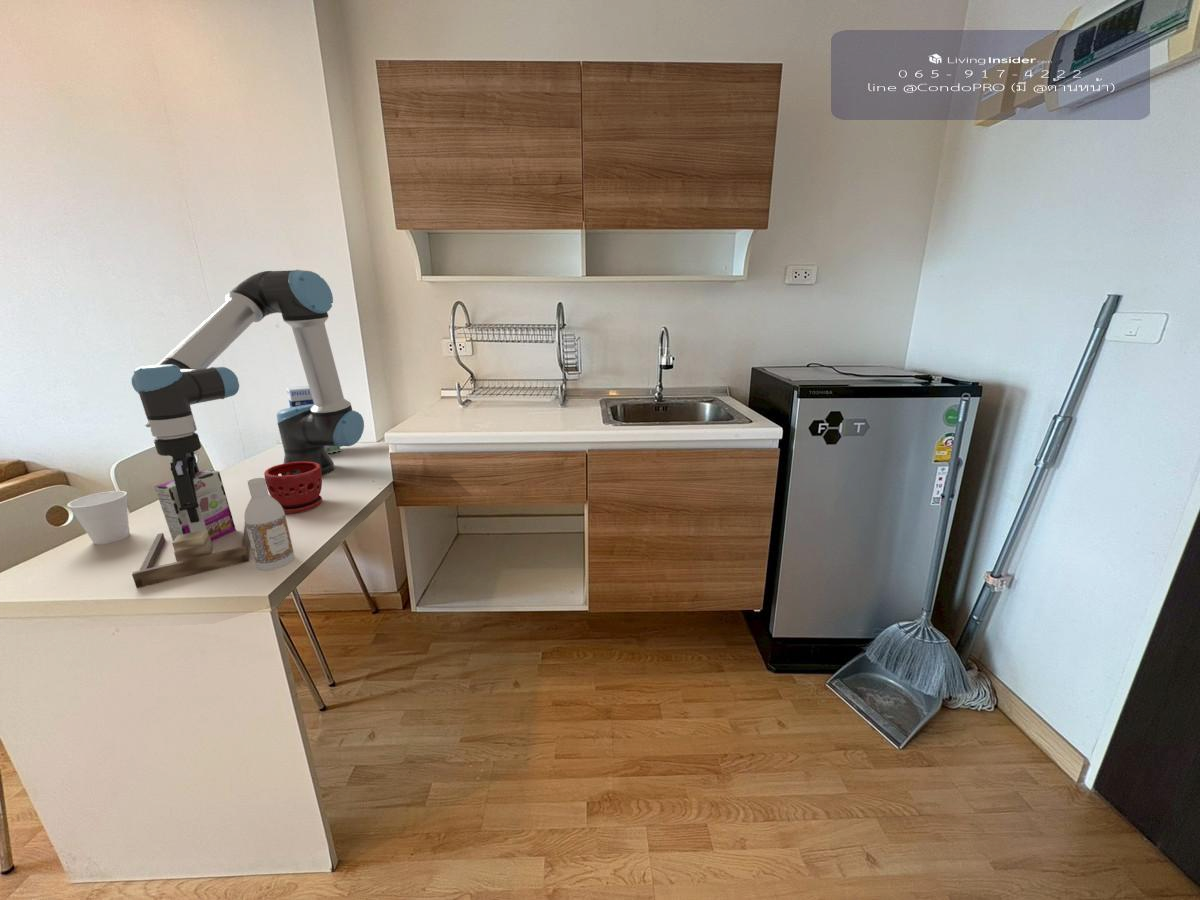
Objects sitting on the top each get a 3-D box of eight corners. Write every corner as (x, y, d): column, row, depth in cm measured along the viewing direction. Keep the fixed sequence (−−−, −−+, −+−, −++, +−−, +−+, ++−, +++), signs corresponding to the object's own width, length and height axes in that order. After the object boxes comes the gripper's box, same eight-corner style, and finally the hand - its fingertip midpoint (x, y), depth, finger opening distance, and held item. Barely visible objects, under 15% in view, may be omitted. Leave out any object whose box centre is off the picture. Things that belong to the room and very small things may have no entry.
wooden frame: (252, 524, 121) (249, 510, 120) (249, 564, 102) (245, 548, 101) (160, 543, 111) (155, 528, 110) (138, 591, 92) (131, 574, 91)
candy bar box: (221, 529, 118) (205, 468, 113) (237, 531, 117) (221, 470, 112) (173, 551, 107) (152, 485, 103) (189, 553, 106) (169, 487, 101)
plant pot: (280, 522, 122) (271, 479, 118) (267, 508, 130) (257, 468, 127) (334, 506, 131) (326, 466, 127) (318, 494, 139) (310, 457, 136)
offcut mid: (212, 546, 104) (209, 536, 103) (211, 555, 100) (208, 544, 100) (179, 554, 101) (176, 544, 100) (177, 563, 97) (174, 552, 96)
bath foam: (268, 577, 97) (246, 488, 91) (250, 568, 100) (228, 482, 94) (302, 561, 103) (283, 477, 97) (284, 554, 106) (265, 472, 100)
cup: (114, 530, 118) (99, 490, 114) (151, 530, 117) (138, 490, 114) (70, 550, 108) (53, 507, 105) (111, 550, 108) (95, 507, 105)
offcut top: (209, 538, 103) (207, 529, 102) (204, 545, 99) (202, 537, 99) (180, 543, 100) (178, 534, 100) (174, 551, 97) (172, 542, 96)
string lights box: (302, 458, 173) (288, 390, 165) (299, 454, 178) (285, 387, 171) (341, 451, 181) (329, 386, 173) (337, 447, 186) (325, 383, 179)
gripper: (162, 427, 111) (187, 513, 117) (142, 449, 93) (173, 548, 100) (202, 423, 115) (225, 506, 121) (190, 443, 97) (217, 539, 104)
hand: (201, 525), depth 111 cm, fingers closed on candy bar box, 9 cm apart
